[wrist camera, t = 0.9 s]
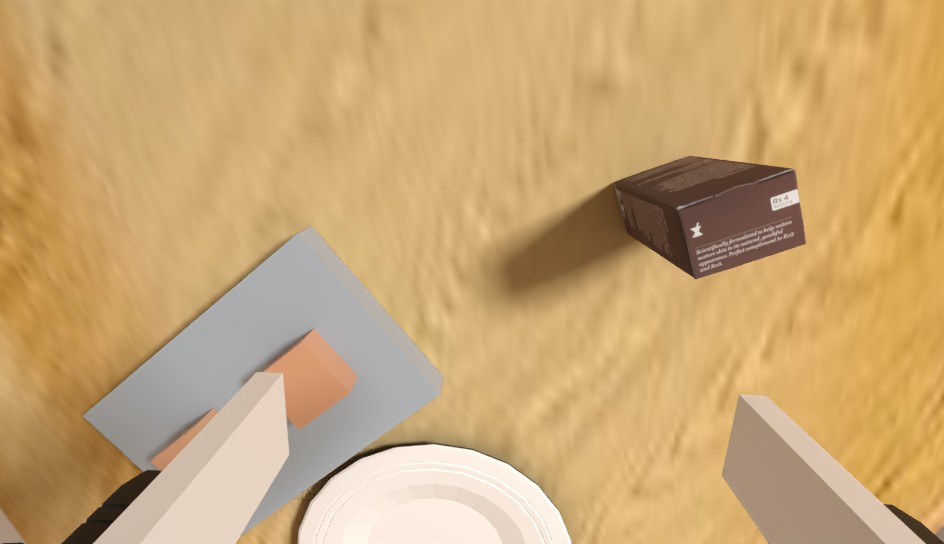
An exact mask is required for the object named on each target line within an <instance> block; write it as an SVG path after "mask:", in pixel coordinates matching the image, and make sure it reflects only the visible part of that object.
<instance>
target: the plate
mask: <svg viewBox="0 0 944 544" xmlns="http://www.w3.org/2000/svg"><path fill="white" fill-rule="evenodd" d="M298 544H571V539H570V536H569V534H568V532H567V529H566V527H565V524H564V522H563V520H562V517H561V515H560V512H559V510H558V509H557V507H556V506H555V505H554V504H553V503H552V501H551V500H550V499H549V498H548V496H547V495H546V494H545V493H544V492H543V490H542V489H541V488H540V487H539V486H538V484H537V483H535V482H534V481H532V480H531V479H530V478H528V477H527V476H525V475H524V474H523V473H521V472H520V471H518V470H517V469H516V468H514V467H513V466H511V465H510V464H509V463H507V462H504V461H502V460H499V459H497V458H494V457H492V456H489V455H487V454H484V453H481V452H479V451H476V450H474V449H470V448H463V447H456V446H449V445H443V444H436V443H430V444H418V445H406V446H395V447H392V448H389V449H386V450H383V451H380V452H377V453H374V454H371V455H368V456H365V457H362V458H360V459H358V460H357V461H355V462H354V463H352V464H351V465H349V466H348V467H346V468H344V469H343V470H341V471H340V472H338V473H337V474H335V475H334V476H332V477H331V478H330V479H329V481H328V482H327V483H326V484H325V485H324V486H323V488H322V489H321V490H320V491H319V492H318V494H317V495H316V496H315V497H314V498H313V499H312V501H311V502H310V504H309V506H308V509H307V511H306V514H305V516H304V519H303V521H302V523H301V526H300V528H299V531H298Z"/></svg>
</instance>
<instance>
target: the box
mask: <svg viewBox="0 0 944 544" xmlns="http://www.w3.org/2000/svg"><path fill="white" fill-rule="evenodd" d="M614 184H615V190H616V194H617V197H618V201H619V206H620V208H621V211H622V215H623V219H624V222H625V226H626V229H627V233H628V234H629V235H631V236H632V237H634V238H635V239H637V240H638V241H640V242H641V243H643V244H644V245H646V246H647V247H649V248H650V249H651V250H653V251H655V252H656V253H658V254H659V255H661V256H662V257H664V258H665V259H667V260H668V261H670V262H671V263H673V264H674V265H675V266H677V267H679V268H680V269H682V270H683V271H685V272H686V273H688V274H689V275H691V276H692V277H694V278H695V279H698V278H701V277H704V276H708V275H711V274H714V273H717V272H721V271H724V270H727V269H731V268H734V267H737V266H740V265H742V264H745V263H748V262H752V261H755V260H758V259H761V258H764V257H767V256H770V255H773V254H776V253H779V252H782V251H785V250H788V249H792V248H795V247H797V246H801V245H804V244H805V243H806V239H805V232H804V226H803V219H802V213H801V207H800V202H799V195H798V188H797V180H796V172H795V170H794V169H791V168H783V167H775V166H768V165H759V164H751V163H743V162H735V161H727V160H718V159H711V158H702V157H693V156H689V157H685V158H682V159H679V160H676V161H673V162H670V163H668V164H665V165H662V166H659V167H656V168H653V169H650V170H647V171H644V172H641V173H639V174H636V175H633V176H630V177H627V178H624V179H622V180H619V181H617V182H615V183H614Z"/></svg>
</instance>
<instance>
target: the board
mask: <svg viewBox="0 0 944 544" xmlns="http://www.w3.org/2000/svg"><path fill="white" fill-rule="evenodd" d="M313 329H315V330H316V331H317V332H318V333H319V334H320V335H321V336H322V338H323V339H324V340H325V341H326V342H327V343H328V344H329V345H330V346H331V347H332V348H333V349H334V351H335V352H336V353H337V354H338V355H339V356H340V357H341V358H342V359H343V360H344V361H345V362H346V364H347V365H348V366H349V367H350V368H351V369H352V370H353V371H354V372H355V373H356V374H357V375H358V378H357V380H356V382H355V384H354V386H353V388H352V389H351V391H350V393H349V394H348V395H346V396H345V397H343V398H342V399H341V400H339V401H338V402H337V403H335V404H334V405H333V406H331V407H330V408H329V409H327V410H326V411H325V412H323V413H322V414H321V415H319V416H318V417H317V418H315V419H314V420H313V421H311V422H310V423H309V424H307V425H306V426H305V427H303V428H302V429H300V430H299V429H298V428H297V427H296V426H295V425H294V424H293V423H292V422H291V421H290V420H289V419H288V418H287V417H286V418H287V432H288V445H289V456H288V458H287V459H286V461H285V463H284V464H283V466H282V468H281V469H280V471H279V472H278V474H277V476H276V477H275V479H274V481H273V482H272V484H271V486H270V487H269V489H268V491H267V492H266V494H265V496H264V497H263V499H262V501H261V502H260V504H259V506H258V507H257V509H256V510H255V512H254V514H253V515H252V517H251V519H250V520H249V522H248V524H247V525H246V527H245V529H244V530H243V532H242V534H241V535H240V536H242V535H243V534H244V533H246V532H247V531H249V530H250V529H251V528H253V527H254V526H256V525H257V524H258V523H260V522H261V521H263V520H264V519H265V518H267V517H268V516H270V515H271V514H273V513H274V512H275V511H277V510H278V509H280V508H281V507H282V506H284V505H285V504H287V503H288V502H289V501H291V500H292V499H294V498H295V497H296V496H298V495H299V494H301V493H302V492H303V491H305V490H306V489H308V488H309V487H311V486H312V485H313V484H315V483H316V482H318V481H319V480H320V479H322V478H323V477H325V476H326V475H327V474H329V473H330V472H332V471H333V470H334V469H336V468H337V467H339V466H340V465H341V464H343V463H344V462H346V461H347V460H349V459H350V458H351V457H353V456H354V455H356V454H357V453H358V452H360V451H361V450H363V449H364V448H365V447H367V446H368V445H370V444H371V443H372V442H374V441H375V440H377V439H378V438H379V437H381V436H382V435H384V434H385V433H387V432H388V431H389V430H391V429H392V428H394V427H395V426H396V425H398V424H399V423H401V422H402V421H403V420H405V419H406V418H408V417H409V416H410V415H412V414H413V413H415V412H416V411H417V410H419V409H420V408H422V407H423V406H425V405H426V404H427V403H429V402H430V401H432V400H433V399H434V398H436V397H437V396H439V395H440V392H441V386H442V381H443V375H442V374H441V373H440V372H439V371H438V370H437V368H436V367H435V366H434V365H433V364H432V363H431V362H430V360H429V359H428V358H427V357H426V356H425V355H424V354H423V352H422V351H421V350H420V349H419V348H418V347H417V346H416V344H415V343H414V342H413V341H412V340H411V339H410V338H409V337H408V335H407V334H406V333H405V332H404V331H403V330H402V329H401V327H400V326H399V325H398V324H397V323H396V322H395V321H394V319H393V318H392V317H391V316H390V315H389V314H388V313H387V311H386V310H385V309H384V308H383V307H382V306H381V305H380V304H379V302H378V301H377V300H376V299H375V298H374V297H373V296H372V294H371V293H370V292H369V291H368V290H367V289H366V288H365V286H364V285H363V284H362V283H361V282H360V281H359V280H358V278H357V277H356V276H355V275H354V274H353V273H352V272H351V270H350V269H349V268H348V267H347V266H346V265H345V264H344V263H343V261H342V260H341V259H340V258H339V257H338V256H337V255H336V253H335V252H334V251H333V250H332V249H331V248H330V247H329V245H328V244H327V243H326V242H325V241H324V240H323V239H322V237H321V236H320V235H319V234H318V233H317V232H316V231H315V229H314V228H313V227H310V228H307V229H305V230H303V231H301V232H299V233H297V234H296V235H295V236H294V237H292V238H291V239H290V240H289V241H288V242H287V243H285V244H284V245H283V246H282V247H281V248H280V249H278V250H277V251H276V252H275V253H274V254H272V255H271V256H270V257H269V258H268V259H267V260H265V261H264V262H263V263H262V264H261V265H260V266H258V267H257V268H256V269H255V270H254V271H252V272H251V273H250V274H249V275H248V276H247V277H245V278H244V279H243V280H242V281H241V282H240V283H238V284H237V285H236V286H235V287H234V288H232V289H231V290H230V291H229V292H228V293H227V294H225V295H224V296H223V297H222V298H221V299H220V300H218V301H217V302H216V303H215V304H214V305H212V306H211V307H210V308H209V309H208V310H207V311H205V312H204V313H203V314H202V315H201V316H200V317H198V318H197V319H196V320H195V321H194V322H192V323H191V324H190V325H189V326H188V327H187V328H185V329H184V330H183V331H182V332H181V333H180V334H178V335H177V336H176V337H175V338H174V339H172V340H171V341H170V342H169V343H168V344H167V345H165V346H164V347H163V348H162V349H161V350H160V351H158V352H157V353H156V354H155V355H154V356H152V357H151V358H150V359H149V360H148V361H147V362H145V363H144V364H143V365H142V366H141V367H140V368H138V369H137V370H136V371H135V372H134V373H132V374H131V375H130V376H129V377H128V378H127V379H125V380H124V381H123V382H122V383H121V384H120V385H118V386H117V387H116V388H115V389H114V390H112V391H111V392H110V393H109V394H108V395H107V396H105V397H104V398H103V399H102V400H101V401H100V402H98V403H97V404H96V405H95V406H94V407H92V408H91V409H90V410H89V411H88V412H87V413H85V414H84V415H83V417H84V418H85V419H86V420H87V421H88V422H89V423H91V424H92V425H93V426H94V427H95V428H96V429H97V430H98V431H99V432H100V433H102V434H103V435H104V436H105V437H106V438H107V439H108V440H109V441H110V442H111V443H112V444H114V445H115V446H116V447H117V448H118V449H119V450H120V451H121V452H122V453H123V454H125V455H126V456H127V457H128V458H129V459H130V460H131V461H132V462H133V463H134V464H135V465H137V466H138V467H139V468H140V469H141V470H142V471H143V472H144V471H146V470H159V469H158V468H157V467H156V466H155V465H154V464H153V463H151V462H150V461H151V460H152V459H153V458H154V457H156V456H157V455H158V454H159V453H160V452H161V451H162V450H163V449H164V448H165V447H166V446H167V445H168V444H169V443H170V442H171V441H173V440H174V439H175V438H176V437H178V436H179V435H180V434H181V433H183V432H184V431H185V430H186V429H188V428H189V427H190V426H192V425H193V424H194V423H195V422H197V421H198V420H199V419H200V418H202V417H203V416H204V415H205V414H207V413H208V412H209V411H210V410H212V409H213V408H214V409H215V410H216V411H217V412H219V411H220V410H221V409H222V408H223V407H224V406H225V405H226V404H227V403H228V402H229V400H230V399H231V398H232V397H233V396H234V395H235V394H236V393H237V392H238V391H239V390H240V389H241V388H242V387H243V386H244V385H245V384H246V383H247V382H248V381H249V379H250V378H251V377H252V376H253V375H254V374H255V373H256V372H261V371H262V370H263V369H264V368H265V367H266V366H267V365H268V364H270V363H271V362H272V361H274V360H275V359H276V358H277V357H279V356H280V355H281V354H282V353H284V352H285V351H286V350H287V349H289V348H290V347H291V346H292V345H294V344H295V343H296V342H297V341H299V340H300V339H301V338H303V337H304V336H305V335H306V334H308V333H309V332H310V331H311V330H313Z"/></svg>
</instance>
